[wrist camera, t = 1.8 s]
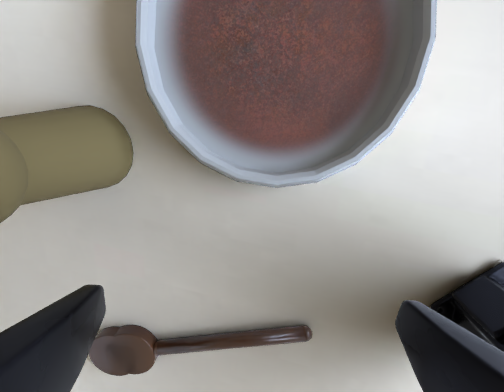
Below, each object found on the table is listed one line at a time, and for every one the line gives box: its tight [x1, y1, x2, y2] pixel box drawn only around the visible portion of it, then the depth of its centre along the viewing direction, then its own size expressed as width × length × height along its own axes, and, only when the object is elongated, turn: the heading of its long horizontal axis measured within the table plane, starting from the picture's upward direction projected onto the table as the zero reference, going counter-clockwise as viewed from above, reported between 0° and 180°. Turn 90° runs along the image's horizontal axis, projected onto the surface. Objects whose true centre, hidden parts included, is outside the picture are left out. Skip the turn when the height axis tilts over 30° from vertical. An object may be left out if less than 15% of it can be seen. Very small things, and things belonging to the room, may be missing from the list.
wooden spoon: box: [89, 325, 312, 376], centre depth 23 cm, size 20×5×1 cm, turn 101°
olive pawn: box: [0, 106, 133, 223], centre depth 14 cm, size 6×6×11 cm
